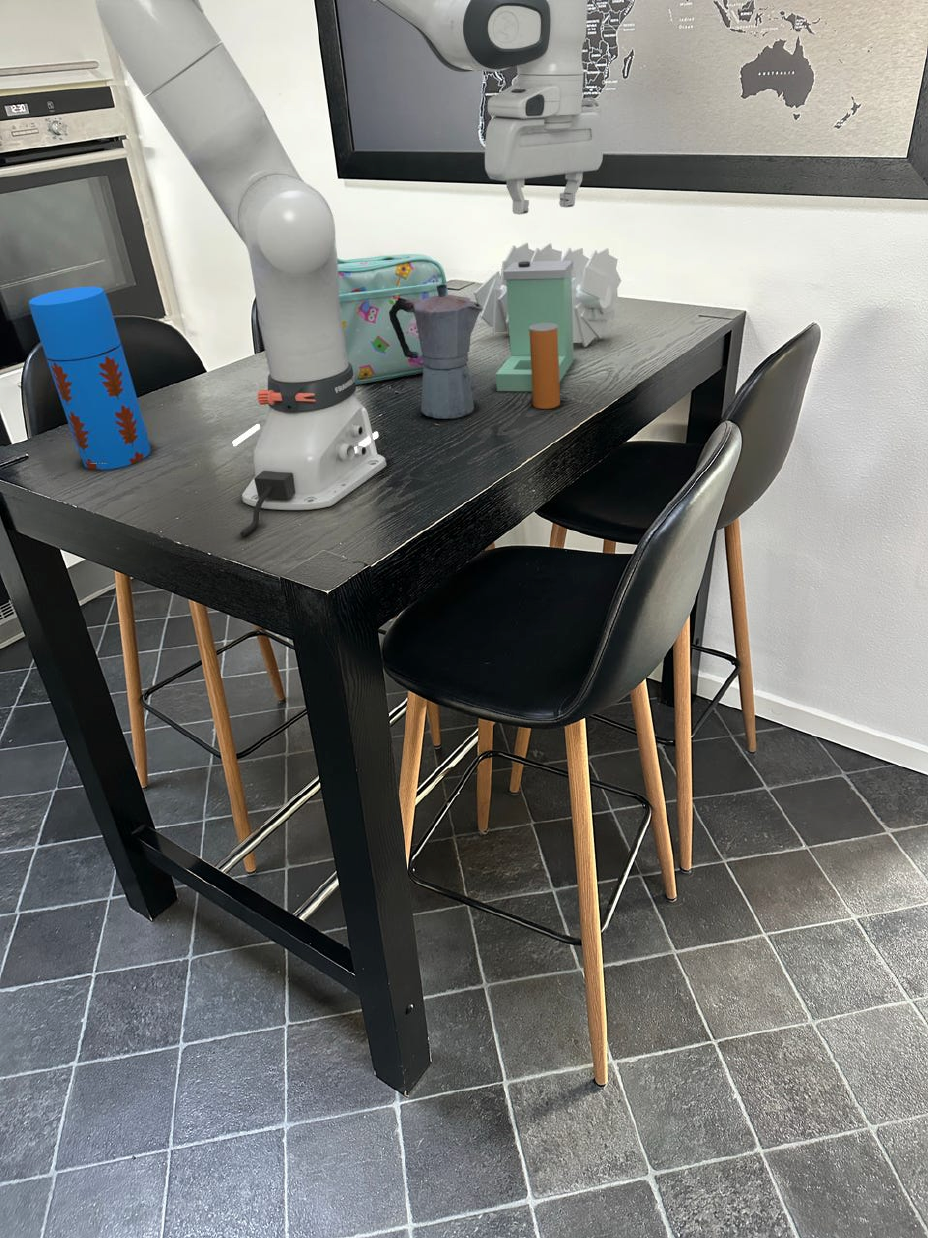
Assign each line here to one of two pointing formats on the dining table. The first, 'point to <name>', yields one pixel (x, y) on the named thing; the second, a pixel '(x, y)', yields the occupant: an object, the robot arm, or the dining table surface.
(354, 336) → the lunch box
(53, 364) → the thermos
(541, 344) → the orange silver-capped cylinder
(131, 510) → the dining table surface
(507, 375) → the square frame
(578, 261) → the spiral staircase
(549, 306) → the pet feeder tower
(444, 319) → the moka pot
